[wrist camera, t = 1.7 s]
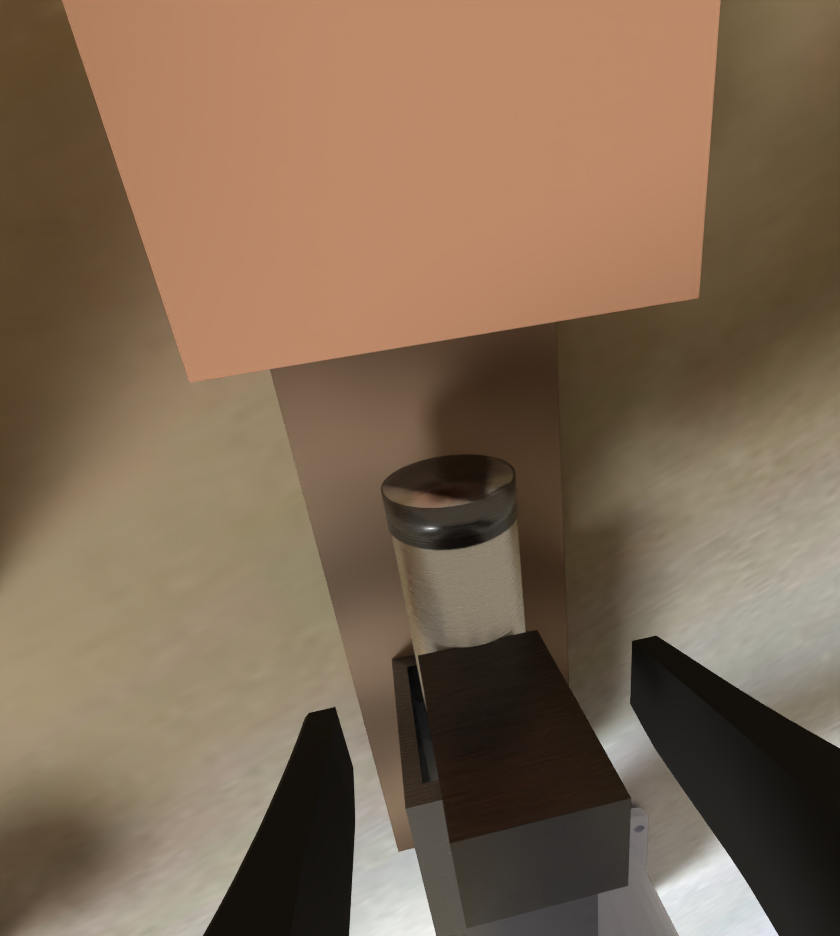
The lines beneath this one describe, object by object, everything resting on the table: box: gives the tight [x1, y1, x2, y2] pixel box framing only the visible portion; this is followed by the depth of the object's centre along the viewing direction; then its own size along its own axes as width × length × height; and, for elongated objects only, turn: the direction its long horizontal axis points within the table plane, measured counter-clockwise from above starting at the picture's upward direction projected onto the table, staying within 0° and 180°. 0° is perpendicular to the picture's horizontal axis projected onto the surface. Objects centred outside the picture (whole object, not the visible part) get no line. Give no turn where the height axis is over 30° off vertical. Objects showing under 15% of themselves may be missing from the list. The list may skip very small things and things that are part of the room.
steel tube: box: [381, 454, 631, 929], centre depth 12 cm, size 16×3×7 cm, turn 9°
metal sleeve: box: [392, 630, 598, 936], centre depth 15 cm, size 10×5×5 cm, turn 8°
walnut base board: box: [270, 322, 569, 851], centre depth 15 cm, size 26×8×1 cm, turn 8°
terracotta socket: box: [62, 0, 721, 382], centre depth 8 cm, size 5×8×6 cm, turn 99°
